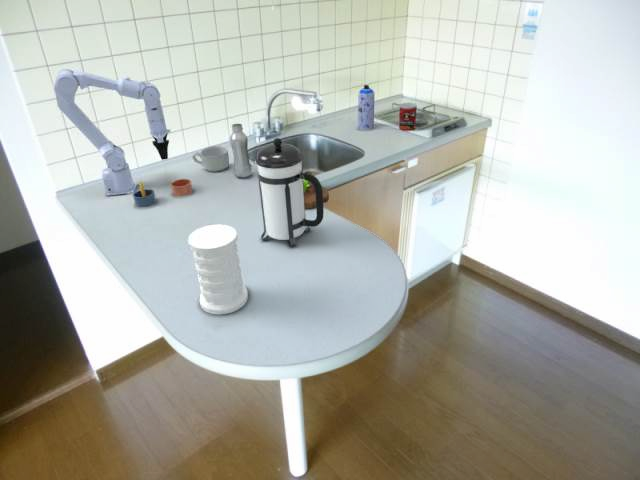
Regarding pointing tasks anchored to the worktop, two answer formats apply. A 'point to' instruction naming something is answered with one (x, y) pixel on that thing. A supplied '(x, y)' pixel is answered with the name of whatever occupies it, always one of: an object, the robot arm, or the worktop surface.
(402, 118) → the canned food
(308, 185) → the plant
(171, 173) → the worktop surface
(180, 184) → the right pot
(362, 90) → the aerosol can
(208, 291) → the decorative container
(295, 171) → the coffee press
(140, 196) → the left pot
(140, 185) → the pencil
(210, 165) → the teacup
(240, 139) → the plastic bottle
